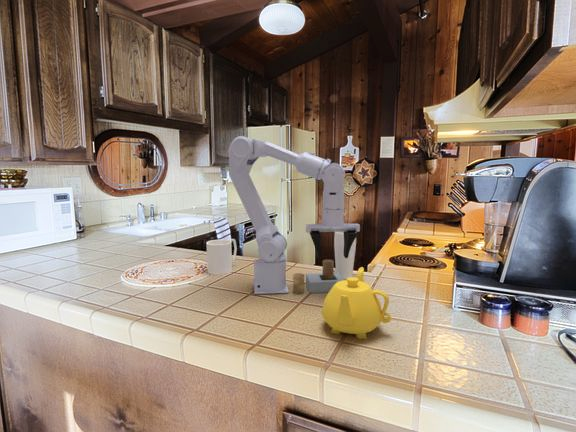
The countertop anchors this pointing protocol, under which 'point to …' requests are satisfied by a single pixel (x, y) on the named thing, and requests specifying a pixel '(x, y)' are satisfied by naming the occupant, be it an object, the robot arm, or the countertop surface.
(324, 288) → the socket block
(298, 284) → the oak stub
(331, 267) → the walnut dowel
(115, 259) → the countertop surface
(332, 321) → the teapot
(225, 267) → the cup
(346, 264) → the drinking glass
